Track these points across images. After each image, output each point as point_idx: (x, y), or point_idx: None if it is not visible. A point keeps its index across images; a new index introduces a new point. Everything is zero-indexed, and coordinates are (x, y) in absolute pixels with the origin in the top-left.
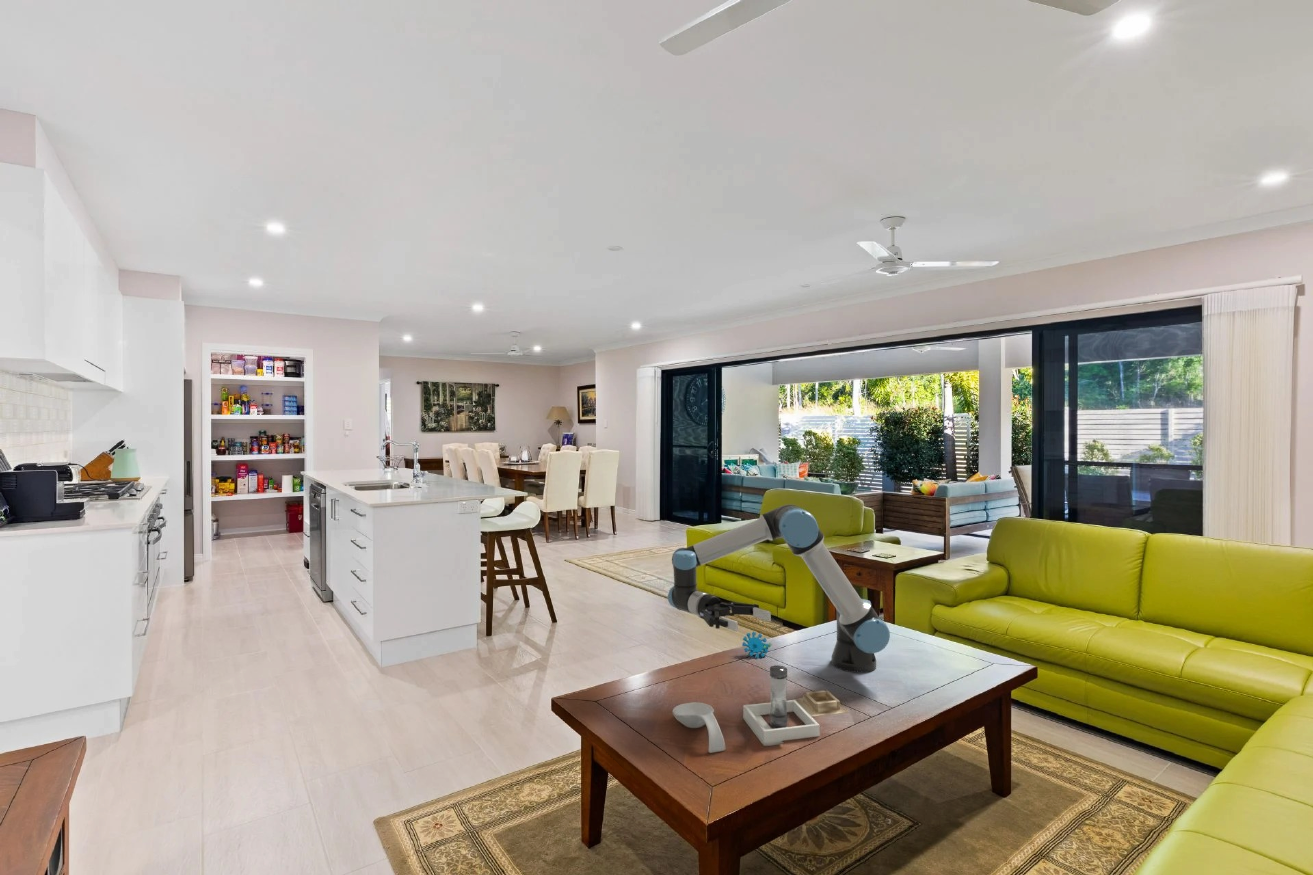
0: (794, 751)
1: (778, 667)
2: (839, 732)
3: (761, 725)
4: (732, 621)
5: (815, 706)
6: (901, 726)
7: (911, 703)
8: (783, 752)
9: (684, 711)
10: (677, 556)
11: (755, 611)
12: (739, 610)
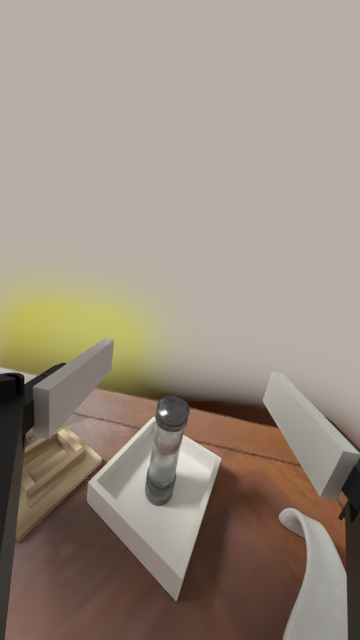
0: (194, 439)
1: (169, 409)
2: (121, 422)
3: (213, 472)
4: (291, 385)
5: (84, 452)
6: None
7: None
8: (206, 447)
9: None
10: None
11: (66, 394)
12: (7, 553)
